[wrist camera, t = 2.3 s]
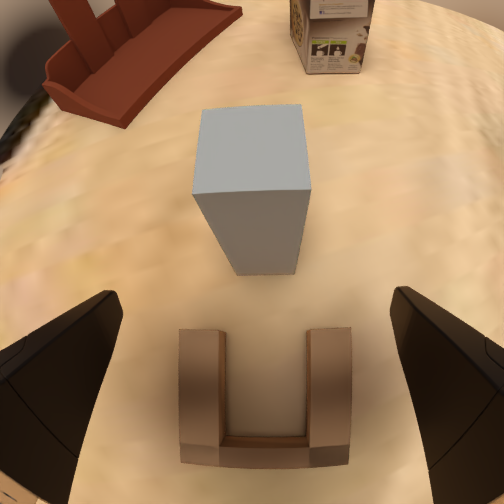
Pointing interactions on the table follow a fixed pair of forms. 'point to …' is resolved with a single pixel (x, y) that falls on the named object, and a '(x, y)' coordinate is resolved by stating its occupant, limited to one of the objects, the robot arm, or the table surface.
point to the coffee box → (331, 33)
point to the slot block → (265, 448)
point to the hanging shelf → (127, 52)
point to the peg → (254, 184)
